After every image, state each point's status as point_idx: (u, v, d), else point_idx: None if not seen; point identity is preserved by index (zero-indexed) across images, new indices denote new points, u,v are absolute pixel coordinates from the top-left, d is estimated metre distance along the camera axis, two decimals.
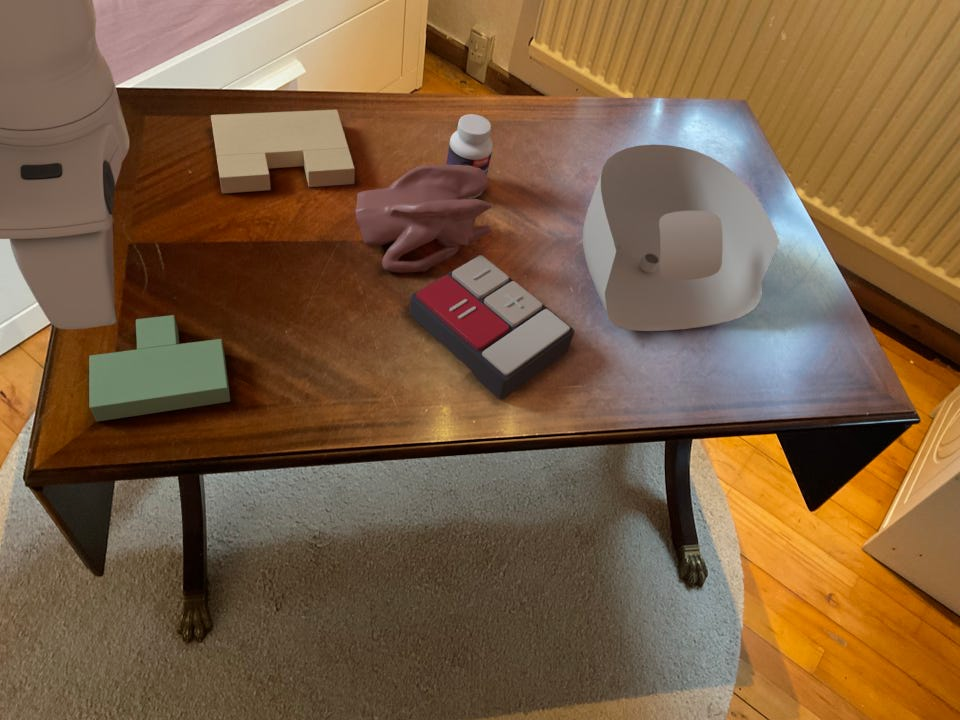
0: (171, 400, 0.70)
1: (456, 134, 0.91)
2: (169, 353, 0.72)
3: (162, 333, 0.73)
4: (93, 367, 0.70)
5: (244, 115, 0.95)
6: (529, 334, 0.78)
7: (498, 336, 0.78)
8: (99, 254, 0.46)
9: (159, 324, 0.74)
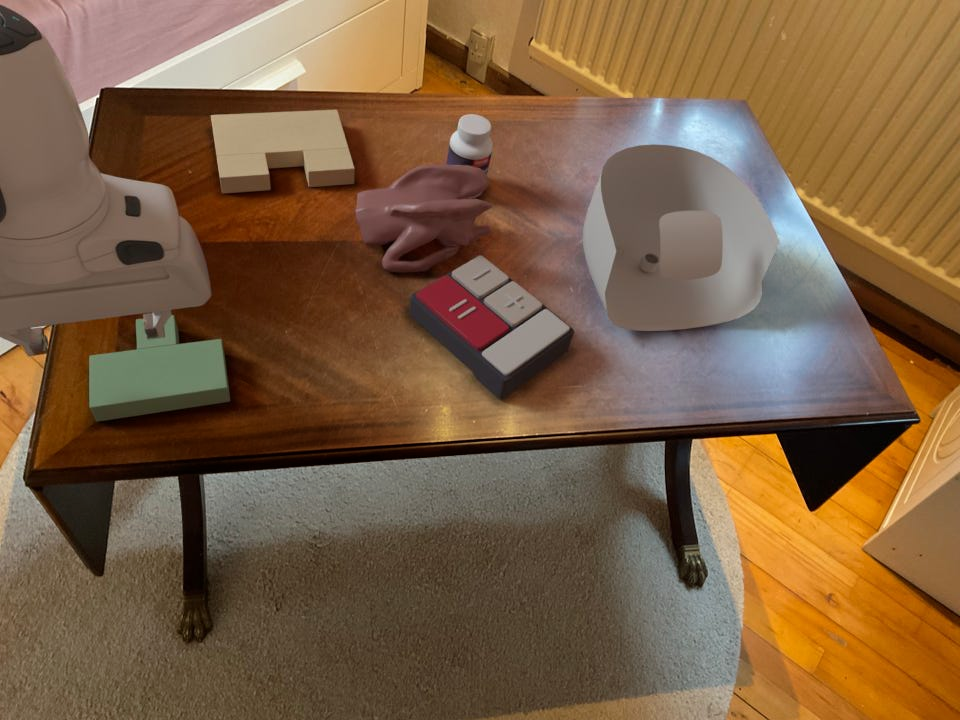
0: (171, 400, 0.70)
1: (456, 134, 0.91)
2: (169, 353, 0.72)
3: None
4: (93, 367, 0.70)
5: (244, 115, 0.95)
6: (529, 334, 0.78)
7: (498, 336, 0.78)
8: (185, 220, 0.60)
9: None
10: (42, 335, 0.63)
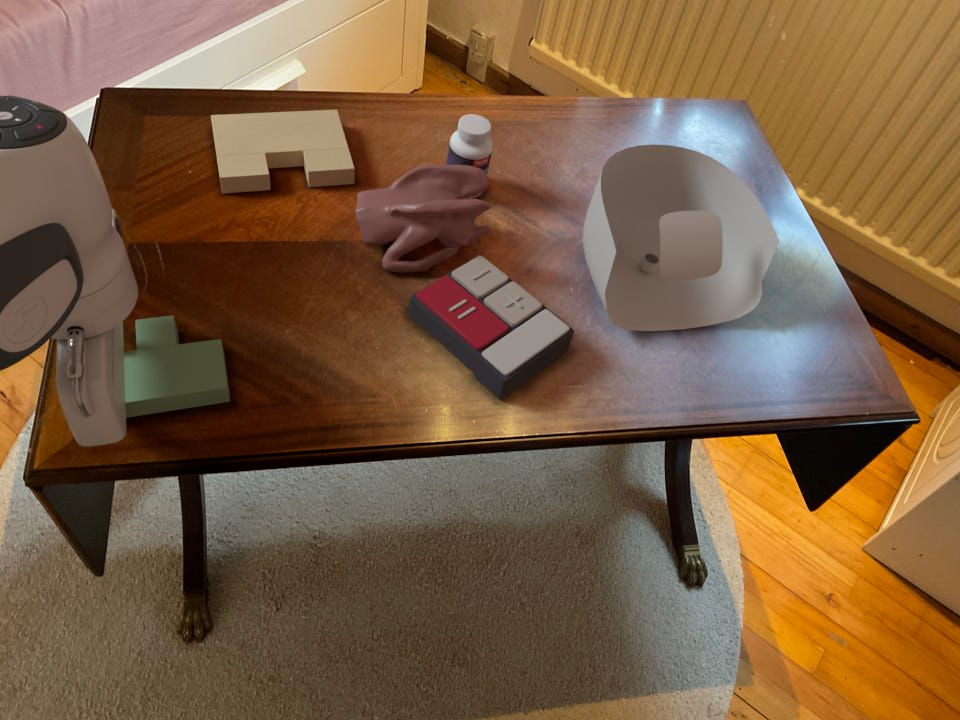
0: (171, 400, 0.70)
1: (456, 134, 0.91)
2: (169, 353, 0.72)
3: (162, 333, 0.73)
4: None
5: (244, 115, 0.95)
6: (529, 334, 0.78)
7: (498, 336, 0.78)
8: None
9: (159, 324, 0.74)
10: None
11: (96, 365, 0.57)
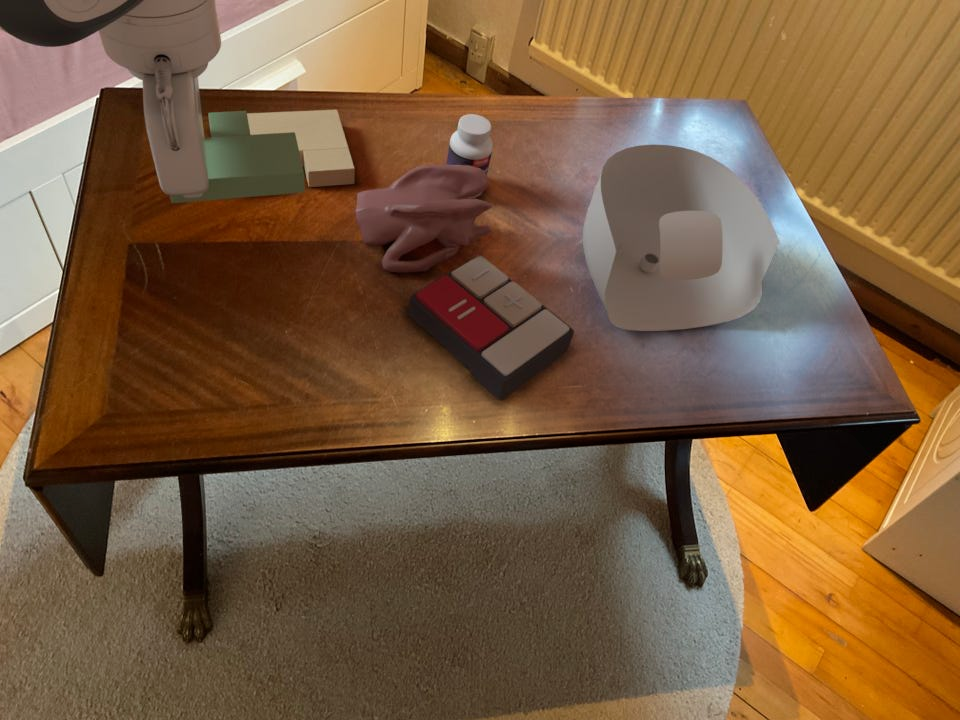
0: (247, 183, 0.68)
1: (456, 134, 0.91)
2: (243, 141, 0.70)
3: (235, 124, 0.72)
4: None
5: None
6: (528, 334, 0.78)
7: (497, 336, 0.78)
8: None
9: (232, 117, 0.72)
10: None
11: (183, 96, 0.55)
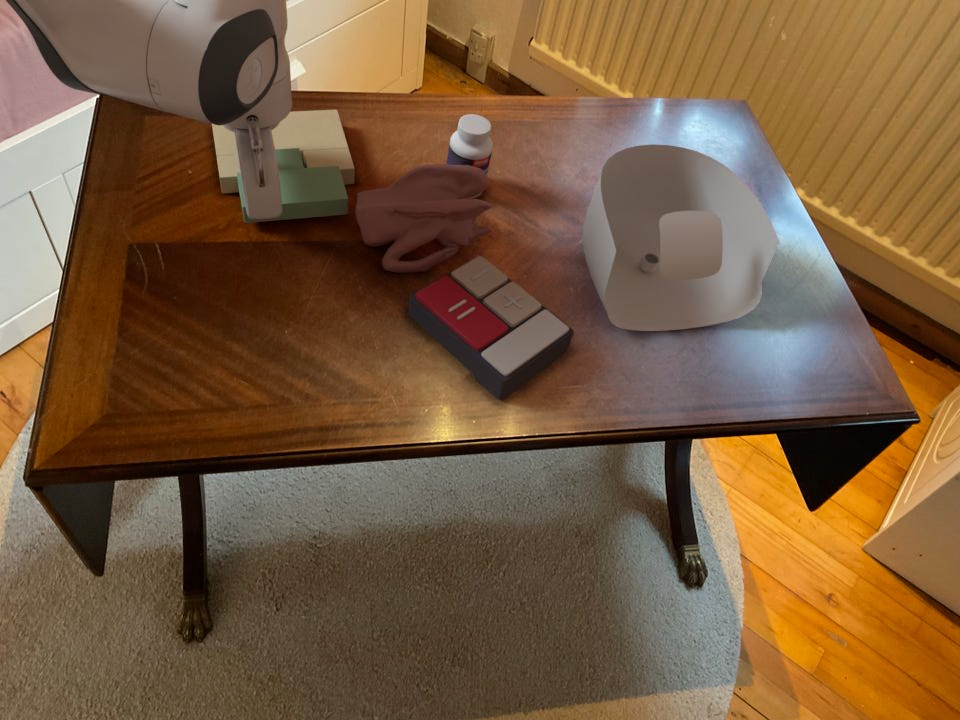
0: (304, 207, 0.86)
1: (456, 134, 0.91)
2: (299, 173, 0.88)
3: (291, 159, 0.90)
4: None
5: None
6: (528, 335, 0.78)
7: (497, 337, 0.78)
8: None
9: (288, 153, 0.90)
10: None
11: (268, 146, 0.74)
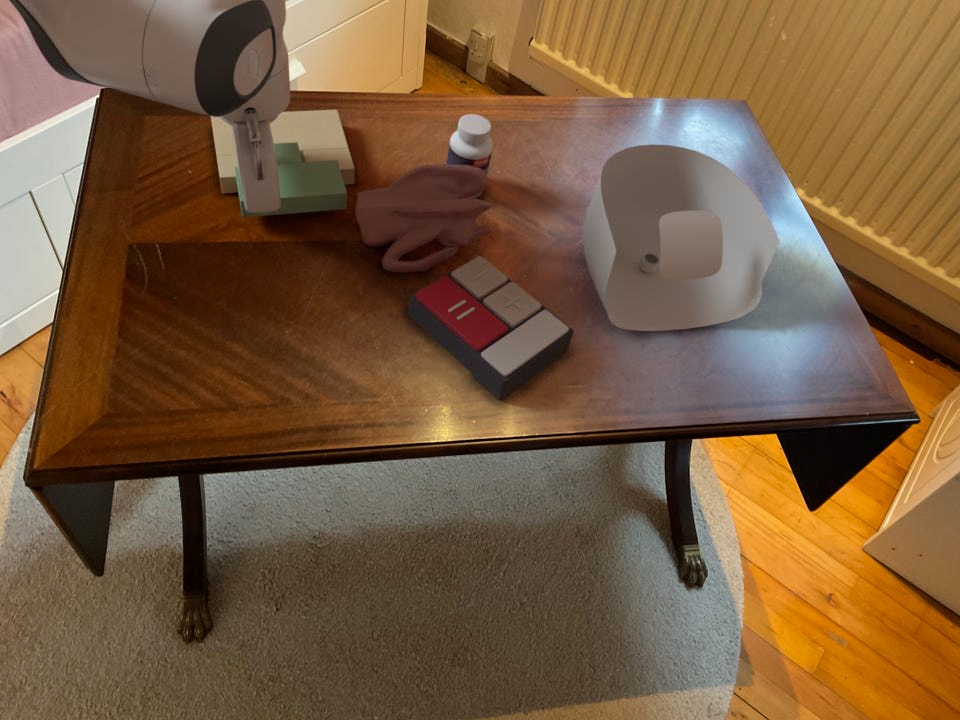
0: (302, 201, 0.86)
1: (456, 134, 0.91)
2: (297, 168, 0.88)
3: (290, 154, 0.89)
4: None
5: None
6: (528, 335, 0.78)
7: (497, 337, 0.78)
8: None
9: (287, 148, 0.90)
10: None
11: (266, 139, 0.73)
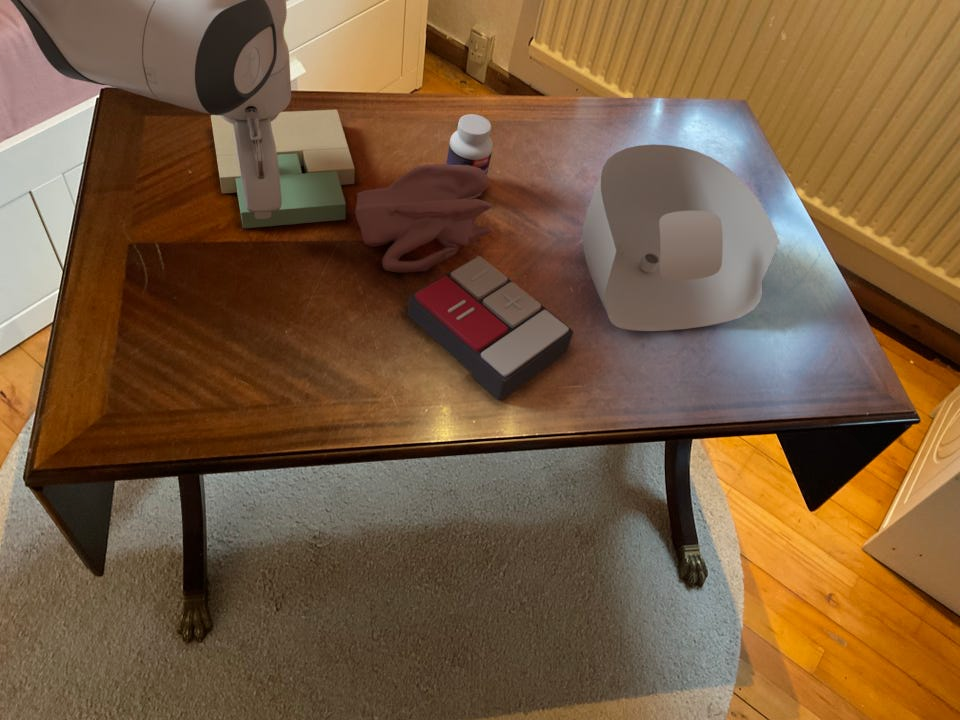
0: (302, 212, 0.87)
1: (456, 134, 0.91)
2: (297, 179, 0.89)
3: (290, 165, 0.90)
4: (239, 186, 0.87)
5: None
6: (528, 335, 0.78)
7: (497, 337, 0.78)
8: None
9: (287, 159, 0.91)
10: None
11: (267, 138, 0.73)
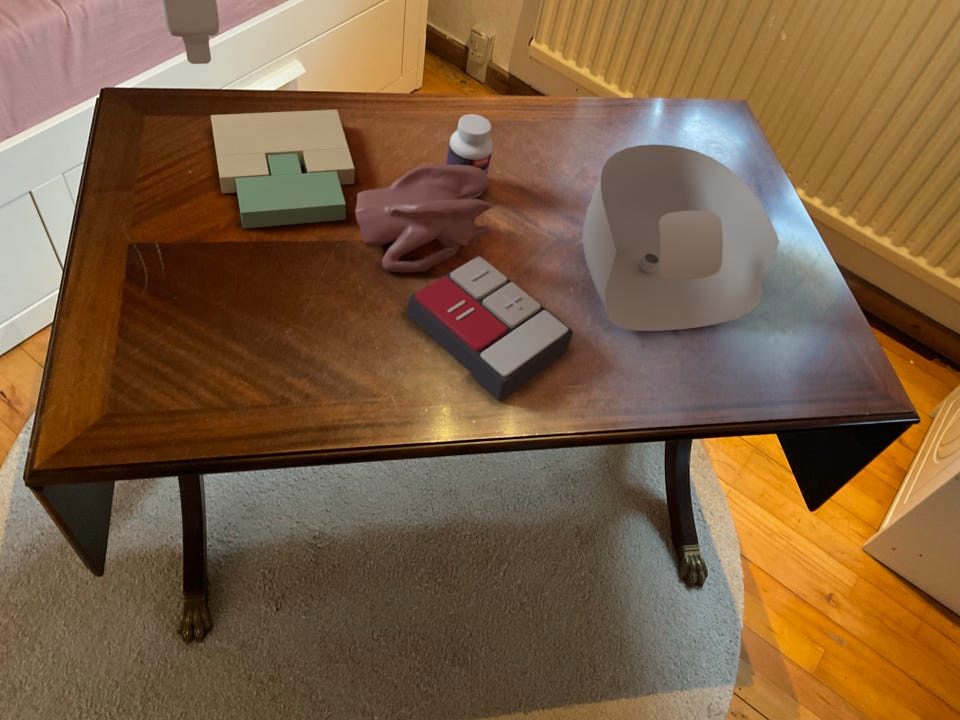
0: (302, 212, 0.87)
1: (456, 134, 0.91)
2: (297, 179, 0.89)
3: (290, 165, 0.90)
4: (239, 186, 0.87)
5: (244, 115, 0.95)
6: (527, 335, 0.78)
7: (496, 337, 0.78)
8: None
9: (287, 159, 0.91)
10: None
11: None
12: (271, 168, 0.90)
